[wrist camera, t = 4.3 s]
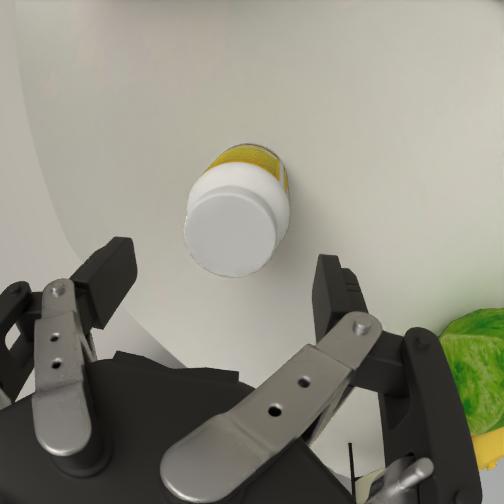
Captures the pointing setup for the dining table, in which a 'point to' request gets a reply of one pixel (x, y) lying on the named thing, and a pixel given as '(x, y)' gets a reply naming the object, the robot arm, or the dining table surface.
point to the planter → (361, 481)
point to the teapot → (489, 448)
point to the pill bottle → (238, 211)
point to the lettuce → (478, 366)
